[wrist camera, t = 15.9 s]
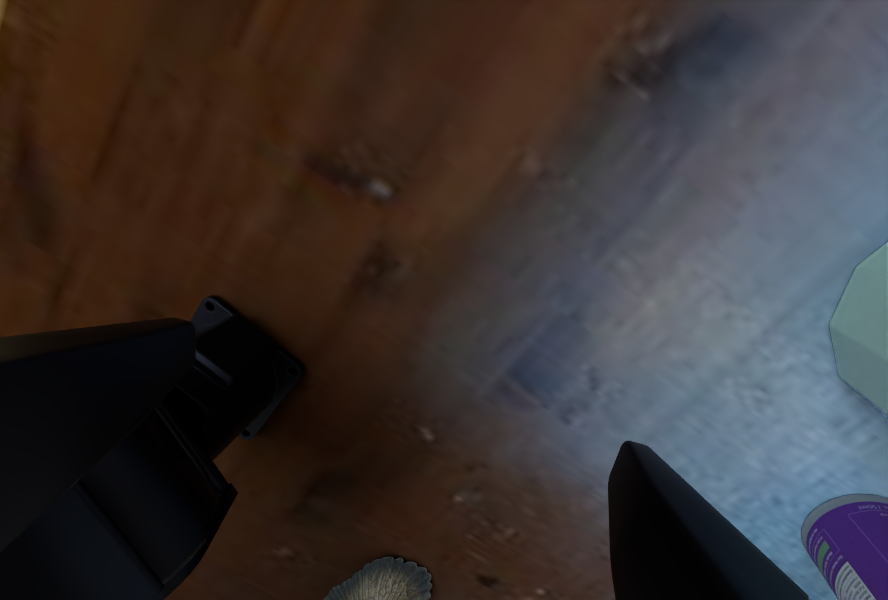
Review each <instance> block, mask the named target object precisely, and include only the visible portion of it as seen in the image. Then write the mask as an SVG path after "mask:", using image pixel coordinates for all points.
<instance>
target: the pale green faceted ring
mask: <svg viewBox="0 0 888 600" xmlns="http://www.w3.org/2000/svg"><path fill="white" fill-rule="evenodd" d="M829 327H830V332H831V338H832V343H833V348H834V354H835V359H836V364H837V370H838V375H839V377H840V378H841V379H842V380H843V381H844V382H845V383H846V384H848V385H849V386H850V387H851V388H852V389H853V390H855V391H856V392H857V393H858V394H859V395H860V396H861V397H863V398H864V399H865V400H866V401H867V402H868V403H870V404H871V405H872V406H873V407H874V408H875V409H876V410H878V411H879V412H880V413H881V414H882V415H884V416H885V417H886V418H888V242H887V243H885V244H884V245H883V246H881V247H880V248H879V249H878V250H876V251H875V252H874V253H872V254H871V255H870V256H869V257H867V258H866V259H865V260H864V261H862V262H861V263H860V264H858V265H857V266H856V267H855V270H854V272H853V274H852V276H851V278H850V280H849V282H848V284H847V286H846V289H845V291H844V293H843V295H842V297H841V299H840V301H839V303H838V306H837V308H836V310H835V312H834V314H833V316H832V318H831V320H830V322H829Z"/></svg>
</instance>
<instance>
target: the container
mask: <svg viewBox="0 0 888 600" xmlns="http://www.w3.org/2000/svg"><path fill="white" fill-rule="evenodd" d="M801 539H802V543H803V545H804V547H805V549H806V551H807V552H808V554H809V555H810V557H811V559H812V560H813V562H814V563H815V565H816V566H817V568H818V569H819V571H820V572H821V574H822V575H823V577H824V578H825V580H826V581H827V583H828V584H829V586H830V587H831V589H832V590H833V592H834V593H835V595H836V596H837V598H838V599H839V600H888V499H887V498H884V497H881V496H876V495H869V494H853V495H846V496H841V497H837V498H834V499H832V500H829V501H827V502H825V503H823V504H821V505H820V506H818V507H817V508H816V509H814V510H813V511H812V512H811V513H810V514H809V515H808V517H807V518H806V520H805V522H804V524H803V526H802V530H801Z"/></svg>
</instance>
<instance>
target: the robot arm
mask: <svg viewBox="0 0 888 600" xmlns="http://www.w3.org/2000/svg"><path fill="white" fill-rule="evenodd" d="M211 303H212V304H213V305H214V308H213V307H212V306H211ZM292 367H293V368H295V369H296V371H297V372H294V371H293V370H292ZM303 373H304V366H303V364H302V363H301V362H300V361H299V360H297V359H296V358H295V357H294V356H292V355H291V354H290V353H288V352H287V351H286V350H285V349H283V348H282V347H281V346H280V345H278V344H277V343H276V342H275V341H273V340H272V339H271V338H270V337H268V336H267V335H266V334H265V333H263V332H262V331H261V330H259V329H258V328H257V327H256V326H254V325H253V324H252V323H251V322H249V321H248V320H247V319H246V318H244V317H243V316H242V315H240V314H239V313H238V312H237V311H235V310H234V309H233V308H232V307H230V306H229V305H228V304H226V303H225V302H224V301H223V300H221V299H220V298H219V297H217V296H214V295H212V296H209V297H207V298H205V299H204V300H203V301H202V302H201V304H200V306H199V307H198V309H197V311H196V312H195V314H194V316H193V317H192V319H191V321H190V322H189V321H186V320H182V319H178V318H165V319H156V320H148V321H139V322H130V323H121V324H112V325H104V326H95V327H86V328H77V329H69V330H60V331H51V332H42V333H33V334H25V335H16V336H7V337H0V600H163V599H164V598H166V597H167V596H168V595H169V594H170V593H171V592H172V591H173V590H174V589H176V588H177V587H178V586H179V585H180V584H181V583H182V582H183V581H184V580H185V579H186V578H187V576H188V575H189V574H190V573H191V572H192V571H193V570H194V568H195V567H196V566H197V565H198V563H199V562H200V560H201V559H202V557H203V556H204V554H205V552H206V550H207V549H208V547H209V545H210V543H211V541H212V540H213V538H214V536H215V534H216V532H217V530H218V529H219V527H220V525H221V523H222V521H223V519H224V518H225V516H226V514H227V512H228V510H229V508H230V507H231V505H232V503H233V501H234V499H235V497H236V496H237V494H238V492H237V491H236V489H235V488H234V486H233V485H232V484H231V483H230V484H228V482H227V481H226V479H225V478H224V477H223V475H222V474H221V472H220V471H219V470H218V468H217V467H216V465H215V464H214V463H213V460H214V459H215V458H216V457H217V456H218V455H219V454H220V453H221V452H222V451H223V450H224V449H225V448H226V447H227V446H228V445H229V444H230V443H231V442H232V441H233V440H234V439H235V438H236V437H237V436H238V435H239V436H240V437H241V438H243V439H245V440H251V439H253V438H254V437H255V435H256V434H257V433H258V432H259V431H260V429H261V428H262V427H263V425H264V424H265V423H266V421H267V420H268V419H269V418H270V416H271V415H272V414H273V412H274V411H275V410H276V408H277V407H278V406H279V405H280V403H281V402H282V401H283V399H284V398H285V397H286V395H287V394H288V393H289V392H290V390H291V389H292V388H293V386H294V385H295V384H296V382H297V381H298V380H299V379H300V377H301V376H302V375H303ZM247 430H248V431H249V432H248V431H247ZM608 503H609V536H610V560H611V570H612V578H613V585H614V592H615V598H616V600H809V597H808V595H807V594H806V593H805V592H804V591H803V590H802V589H801V588H800V587H799V586H798V585H797V584H795V583H794V582H793V581H792V580H791V579H790V578H789V577H788V576H787V575H786V574H785V573H784V572H783V571H782V570H780V569H779V568H778V567H777V566H776V565H775V564H774V563H773V562H772V561H771V560H770V559H769V558H768V557H766V556H765V555H764V554H763V553H762V552H761V551H760V550H759V549H758V548H757V547H756V546H755V545H754V544H753V543H751V542H750V541H749V540H748V539H747V538H746V537H745V536H744V535H743V534H742V533H741V532H740V531H739V530H738V529H736V528H735V527H734V526H733V525H732V524H731V523H730V522H729V521H728V520H727V519H726V518H725V517H724V516H722V515H721V514H720V513H719V512H718V511H717V510H716V509H715V508H714V507H713V506H712V505H711V504H710V503H709V502H707V501H706V500H705V499H704V498H703V497H702V496H701V495H700V494H699V493H698V492H697V491H696V490H695V489H694V488H692V487H691V486H690V485H689V484H688V483H687V482H686V481H685V480H684V479H683V478H682V477H681V476H680V475H679V474H677V473H676V472H675V471H674V470H673V469H672V468H671V467H670V466H669V465H668V464H667V463H666V462H665V461H663V460H662V459H661V458H660V457H659V456H658V455H657V454H656V453H655V452H654V451H653V450H652V449H651V448H650V447H648V446H646V445H643V444H640V443H636V442H632V441H625V442H624V443H623V444H622V446H621V448H620V450H619V453H618V455H617V458H616V460H615V463H614V466H613V468H612V471H611V473H610V476H609V481H608Z"/></svg>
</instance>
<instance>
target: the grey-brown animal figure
mask: <svg viewBox="0 0 888 600" xmlns="http://www.w3.org/2000/svg"><path fill="white" fill-rule="evenodd" d="M431 577H432V576H431V574H430V573H427V568H425V567H422V566H420V567H419V566H417V563H415V562H412V561H410V562H406V563H403V559H402V558H398V559H395V560H394V558H393V557H390V556H389V557H384V558H381V559H380V560H379V559H376V560H373V561H372V562H371V563H367V564H366V565H364V567H363V569H362V570H359V571H358V572H355V574H354V575H353V577H352V578H349V579H348V580H347V581H344V582H343V583H342V584H341V586H340V585H337V586H336V587H333V588H332V590H331V591H330V592H329V593H328V596H327V597H325V599H324V600H427V599H429V598H430V597H431V594H430V592H429V591H430V590H431V588H432V587H433V586H432V584H431V583H430V582H429V581H430V580H431Z"/></svg>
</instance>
